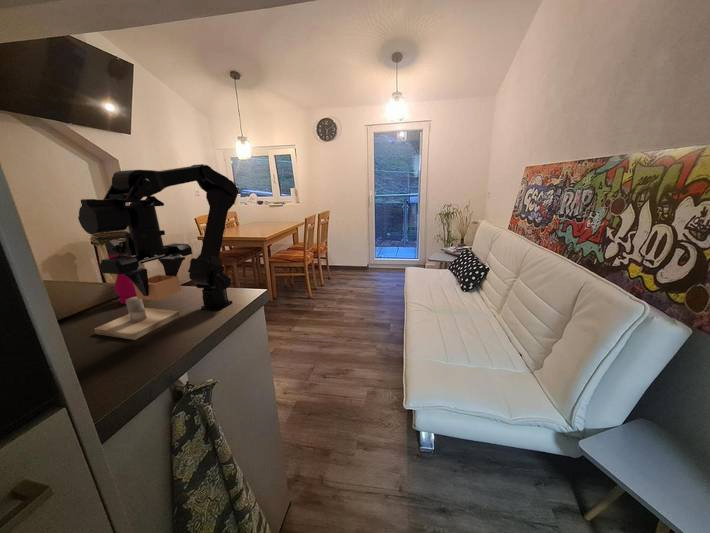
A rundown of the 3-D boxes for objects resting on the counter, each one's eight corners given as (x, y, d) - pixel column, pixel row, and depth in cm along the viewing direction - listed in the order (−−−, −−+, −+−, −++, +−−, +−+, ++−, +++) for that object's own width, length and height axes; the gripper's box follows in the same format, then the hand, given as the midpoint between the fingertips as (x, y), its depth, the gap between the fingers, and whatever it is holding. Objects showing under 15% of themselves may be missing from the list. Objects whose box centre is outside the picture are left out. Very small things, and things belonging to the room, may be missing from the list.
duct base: (144, 312, 82) (138, 288, 80) (179, 316, 79) (174, 291, 77) (95, 333, 70) (87, 306, 68) (134, 339, 67) (126, 311, 65)
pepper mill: (117, 306, 87) (99, 244, 82) (119, 299, 93) (102, 240, 87) (145, 300, 91) (130, 241, 86) (145, 294, 97) (131, 238, 91)
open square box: (161, 289, 72) (158, 274, 71) (181, 291, 71) (178, 276, 69) (137, 298, 66) (133, 282, 65) (158, 300, 65) (154, 284, 64)
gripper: (154, 222, 75) (166, 277, 79) (70, 233, 57) (92, 303, 62) (188, 222, 72) (198, 279, 76) (110, 234, 54) (130, 307, 59)
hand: (159, 290), depth 68 cm, fingers closed on open square box, 6 cm apart
